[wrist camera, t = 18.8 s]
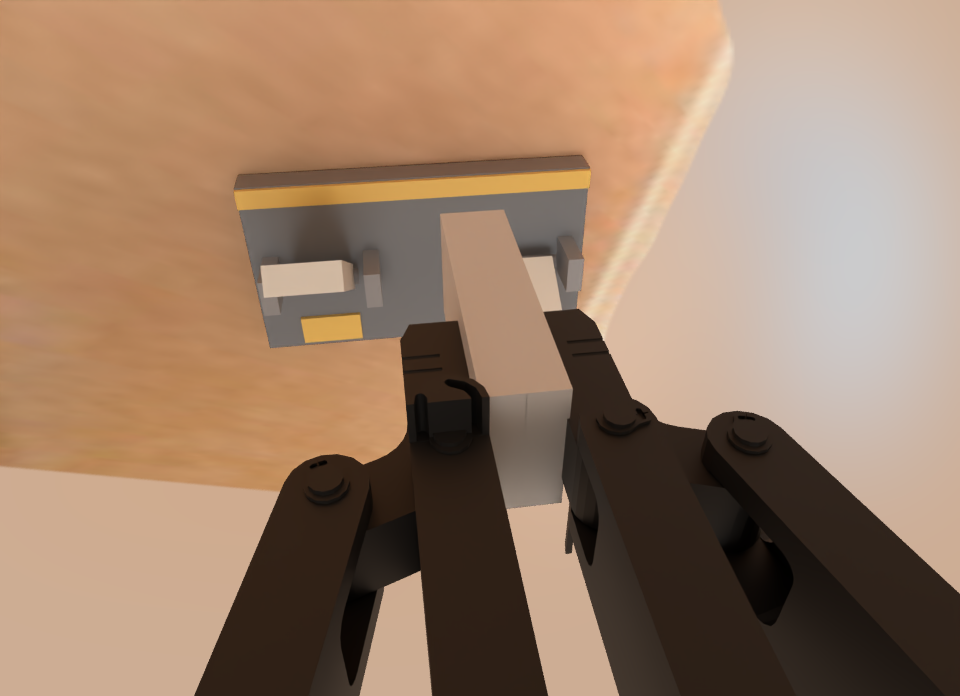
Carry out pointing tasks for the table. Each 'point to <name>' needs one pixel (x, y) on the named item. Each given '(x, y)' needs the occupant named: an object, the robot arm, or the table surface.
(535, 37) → the table surface
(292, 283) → the paddle
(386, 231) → the switch unit
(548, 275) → the paddle
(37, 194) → the table surface
